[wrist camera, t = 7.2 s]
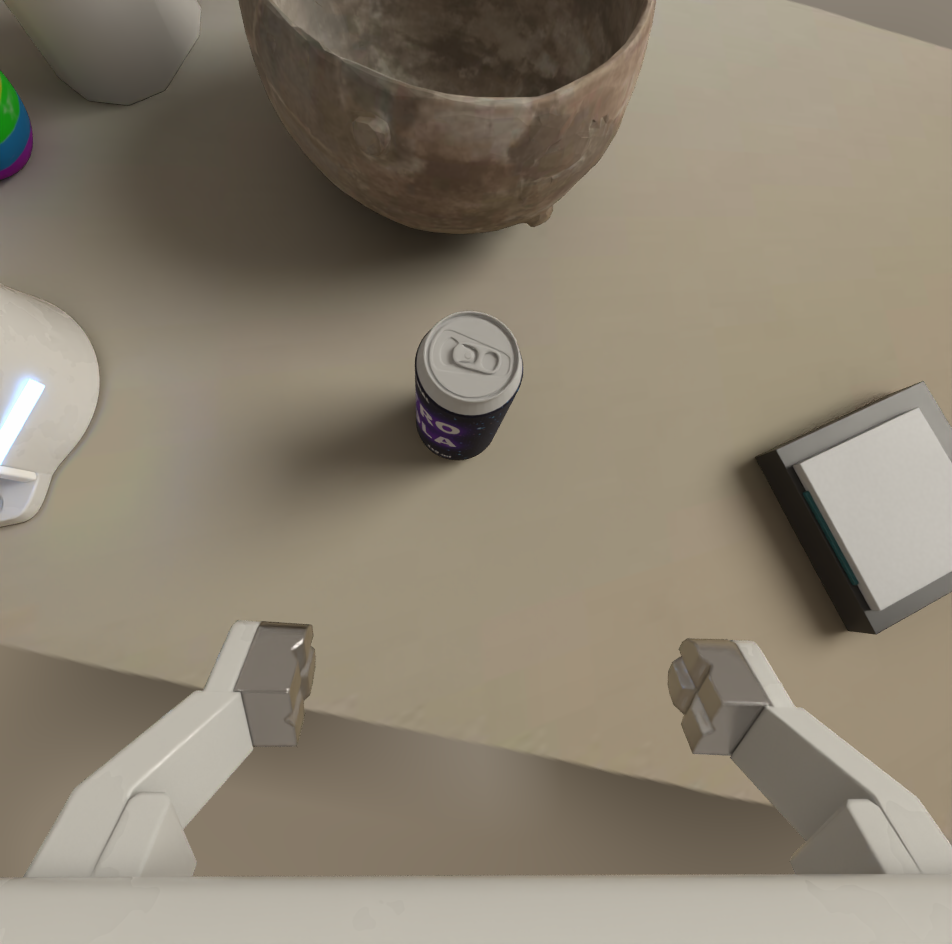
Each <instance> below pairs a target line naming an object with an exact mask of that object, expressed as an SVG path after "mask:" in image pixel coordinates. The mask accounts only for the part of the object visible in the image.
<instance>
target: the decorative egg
mask: <svg viewBox="0 0 952 944" xmlns="http://www.w3.org/2000/svg"><path fill="white" fill-rule="evenodd" d="M32 146H33V134H32V127H31V123H30V119H29V116H28V114H27V111H26V109H25V107H24V105H23V103H22V101H21V99H20V97H19V95H18V94H17V92H16V90H15V89H14V88H13V86H12V85H11V83H10V82H9V80H8V79H7V78H6V77H5V75H4V74H3V73H2V72H1V71H0V180H1V179H4V178H7V177H9V176H12V175H13V174H15V173H17V172H18V171H19V170H20V169H22V168H23V166H24V165H25V164H26V162H27V161H28V160H29V158H30V155H31V151H32Z"/></svg>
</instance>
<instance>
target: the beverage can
mask: <svg viewBox="0 0 952 944" xmlns="http://www.w3.org/2000/svg"><path fill="white" fill-rule="evenodd" d="M522 377H523V361H522V357H521V353H520V351H519V347H518V344H517V341H516V339H515V337H514V335H513V334H512V332H511V331H510V330H509V329H508V327H507V326H506V325H505V324H503V323H502V322H501V321H500V320H498V319H497V318H495V317H493V316H491V315H488V314H486V313H482V312H478V311H461V312H456V313H453V314H451V315H448V316H446V317H445V318H443V319H441V320H440V321H439V322H438V323H436V324H435V326H434V327H433V328H432V329H431V330H430V331H429V332H428V333H427V334H426V335H425V336H424V338H423V339H422V341H421V343H420V345H419V347H418V350H417V353H416V358H415V386H416V424H417V430H418V433H419V436H420V438H421V440H422V441H423V443H424V444H425V445H426V446H427V447H428V448H429V449H430V450H431V451H432V452H433V453H435V454H437V455H438V456H441V457H443V458H446V459H451V460H464V459H469V458H472V457H474V456H476V455H478V454H480V453H481V452H482V451H484V450H485V449H486V448H487V447H488V445H489V444H490V443H491V441H492V439H493V438H494V436H495V434H496V432H497V430H498V428H499V426H500V424H501V422H502V420H503V418H504V416H505V415H506V413H507V411H508V409H509V407H510V405H511V403H512V401H513V399H514V397H515V395H516V393H517V391H518V389H519V387H520V385H521V381H522Z"/></svg>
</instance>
